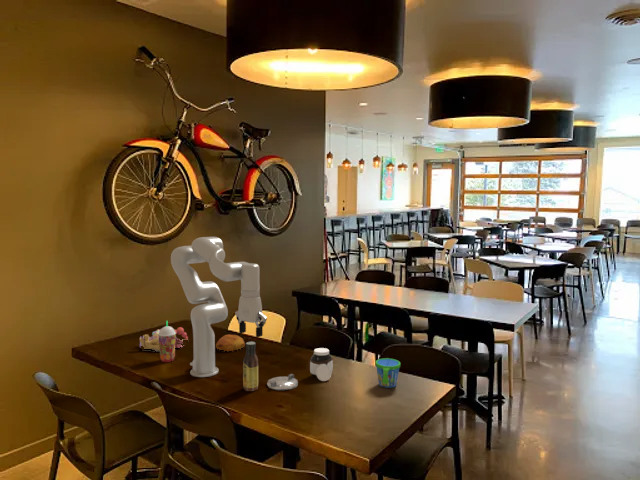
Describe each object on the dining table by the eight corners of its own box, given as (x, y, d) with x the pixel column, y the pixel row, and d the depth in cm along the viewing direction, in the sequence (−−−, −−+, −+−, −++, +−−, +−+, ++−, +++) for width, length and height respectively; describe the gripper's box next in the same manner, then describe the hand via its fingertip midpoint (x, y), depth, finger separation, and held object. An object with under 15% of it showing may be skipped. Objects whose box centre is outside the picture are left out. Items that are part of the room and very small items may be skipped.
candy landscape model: (177, 353, 247) (177, 336, 247) (132, 353, 248) (132, 335, 247) (191, 340, 272) (191, 324, 272) (150, 339, 273) (150, 324, 272)
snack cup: (395, 393, 194) (396, 369, 193) (370, 390, 198) (371, 366, 197) (403, 380, 209) (404, 358, 208) (380, 377, 213) (380, 355, 212)
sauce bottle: (243, 386, 201) (243, 340, 200) (258, 386, 202) (258, 340, 200) (242, 392, 195) (242, 345, 193) (258, 392, 195) (257, 344, 194)
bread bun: (229, 346, 266) (228, 332, 267) (249, 347, 257) (248, 332, 257) (209, 352, 255) (208, 337, 255) (229, 353, 245) (228, 338, 246)
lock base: (260, 385, 202) (260, 379, 202) (281, 376, 213) (281, 371, 213) (283, 393, 194) (283, 386, 194) (304, 383, 205) (304, 377, 205)
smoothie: (155, 362, 232) (154, 321, 231) (166, 357, 240) (165, 318, 239) (168, 364, 229) (168, 323, 228) (180, 359, 237) (179, 319, 236)
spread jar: (323, 370, 221) (323, 346, 220) (341, 376, 213) (341, 351, 212) (304, 377, 213) (304, 351, 212) (322, 383, 205) (322, 357, 204)
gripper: (229, 292, 198) (229, 333, 199) (259, 297, 187) (259, 340, 189) (242, 290, 204) (242, 329, 205) (272, 294, 193) (272, 336, 195)
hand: (250, 334), depth 197 cm, fingers open, 9 cm apart
